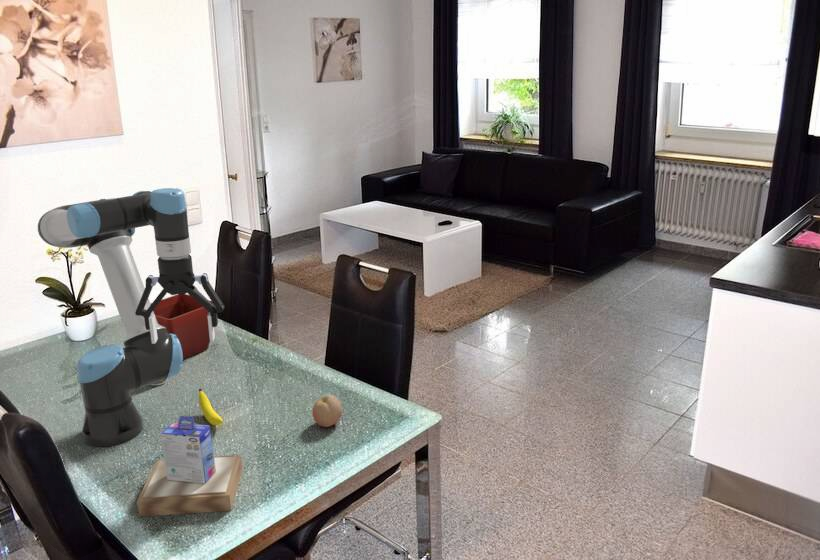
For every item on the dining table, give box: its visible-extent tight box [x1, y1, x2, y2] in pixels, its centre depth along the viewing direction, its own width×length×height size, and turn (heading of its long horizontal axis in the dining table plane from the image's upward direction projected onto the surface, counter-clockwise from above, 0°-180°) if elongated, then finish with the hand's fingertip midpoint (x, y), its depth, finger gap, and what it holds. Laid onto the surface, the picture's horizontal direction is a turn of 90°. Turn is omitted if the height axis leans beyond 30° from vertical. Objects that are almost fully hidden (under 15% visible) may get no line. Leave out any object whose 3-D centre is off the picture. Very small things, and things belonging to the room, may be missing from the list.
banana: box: [198, 388, 224, 427], centre depth 190 cm, size 3×19×6 cm, turn 32°
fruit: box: [311, 394, 343, 428], centre depth 187 cm, size 8×8×8 cm
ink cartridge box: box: [160, 415, 216, 483], centre depth 158 cm, size 10×6×14 cm, turn 79°
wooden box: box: [136, 454, 244, 517], centre depth 160 cm, size 20×16×4 cm
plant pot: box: [150, 293, 215, 360], centre depth 235 cm, size 19×19×17 cm
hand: (183, 340), depth 168 cm, fingers open, 13 cm apart
